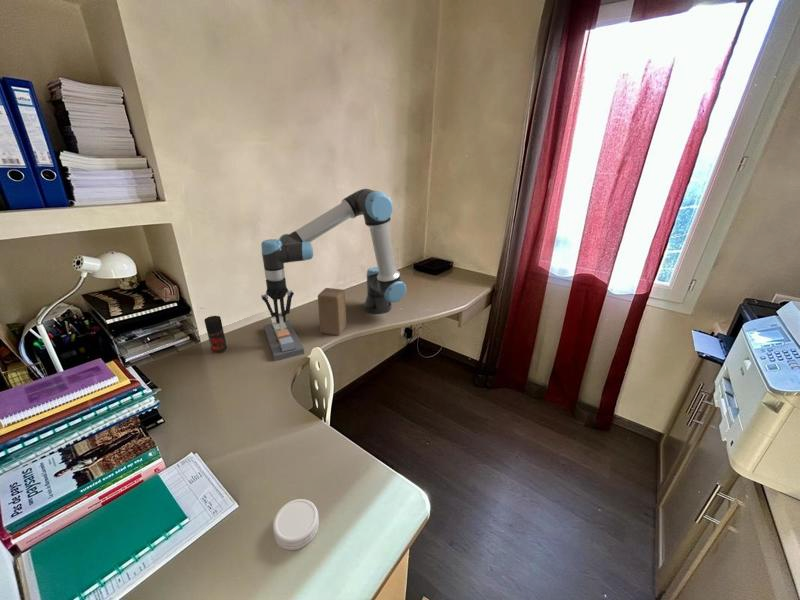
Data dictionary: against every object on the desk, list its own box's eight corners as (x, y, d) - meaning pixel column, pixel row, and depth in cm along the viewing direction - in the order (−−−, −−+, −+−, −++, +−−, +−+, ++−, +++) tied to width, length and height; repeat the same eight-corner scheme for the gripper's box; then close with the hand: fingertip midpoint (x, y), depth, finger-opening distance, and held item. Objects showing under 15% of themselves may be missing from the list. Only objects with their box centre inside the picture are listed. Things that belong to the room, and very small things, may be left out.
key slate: (291, 343, 146) (291, 336, 145) (294, 348, 142) (293, 341, 141) (280, 346, 144) (279, 338, 143) (282, 351, 140) (281, 344, 139)
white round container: (264, 540, 76) (262, 531, 74) (292, 501, 84) (291, 492, 83) (302, 559, 73) (300, 549, 71) (327, 516, 81) (326, 506, 80)
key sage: (285, 329, 157) (284, 322, 156) (287, 333, 153) (286, 327, 152) (274, 331, 155) (273, 324, 154) (276, 336, 151) (275, 329, 150)
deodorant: (208, 352, 143) (200, 320, 137) (219, 345, 148) (212, 314, 142) (219, 354, 141) (212, 323, 135) (230, 347, 146) (223, 317, 140)
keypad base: (289, 324, 167) (289, 320, 166) (304, 353, 144) (303, 348, 143) (264, 329, 161) (263, 325, 160) (274, 360, 138) (274, 355, 137)
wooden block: (339, 336, 157) (337, 297, 149) (319, 333, 159) (316, 295, 151) (347, 326, 166) (345, 288, 158) (328, 323, 168) (325, 286, 160)
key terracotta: (288, 335, 152) (287, 329, 150) (290, 341, 148) (290, 334, 146) (277, 338, 150) (276, 331, 148) (279, 343, 146) (278, 336, 144)
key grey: (282, 322, 163) (281, 316, 161) (284, 327, 159) (283, 320, 158) (271, 324, 161) (270, 318, 159) (273, 329, 157) (272, 322, 155)
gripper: (289, 273, 143) (295, 322, 152) (257, 277, 137) (264, 328, 146) (293, 278, 137) (299, 329, 146) (259, 283, 131) (267, 336, 140)
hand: (282, 328), depth 146 cm, fingers closed
